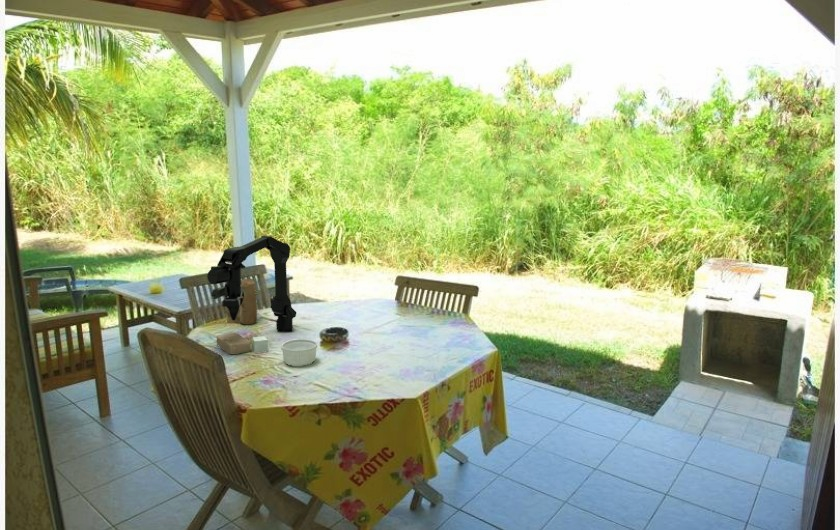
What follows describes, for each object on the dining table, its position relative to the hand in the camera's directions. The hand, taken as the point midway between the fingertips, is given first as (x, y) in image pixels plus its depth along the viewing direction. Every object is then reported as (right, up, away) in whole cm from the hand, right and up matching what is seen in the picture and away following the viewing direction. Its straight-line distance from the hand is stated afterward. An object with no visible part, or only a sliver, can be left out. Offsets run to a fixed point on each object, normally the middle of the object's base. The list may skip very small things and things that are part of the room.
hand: (234, 318), depth 224 cm
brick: (-1, -13, +2) cm, 13 cm away
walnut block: (0, -1, 0) cm, 1 cm away
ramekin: (+29, -16, -12) cm, 34 cm away
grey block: (+10, -13, -1) cm, 17 cm away
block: (-6, -5, +36) cm, 37 cm away
